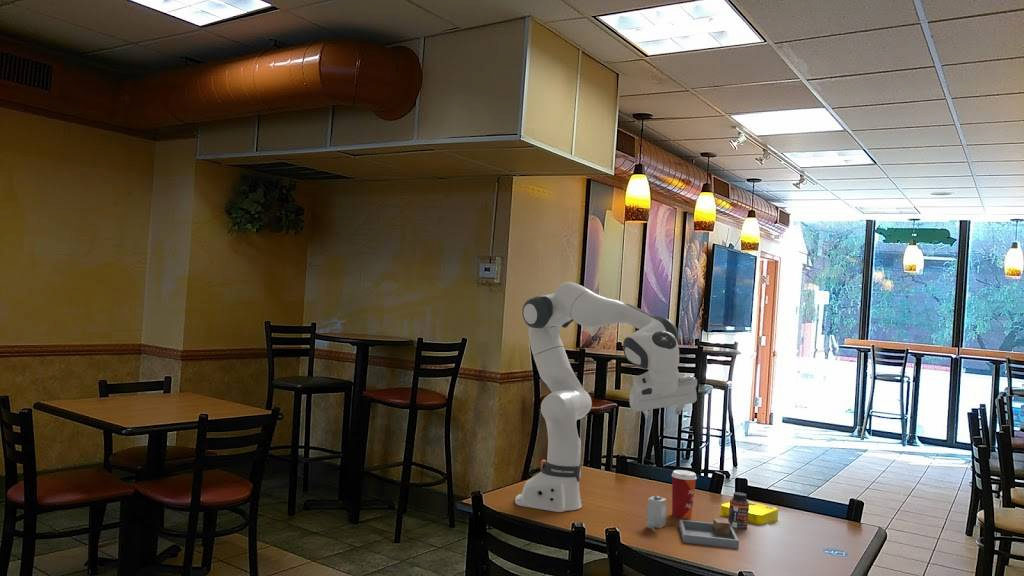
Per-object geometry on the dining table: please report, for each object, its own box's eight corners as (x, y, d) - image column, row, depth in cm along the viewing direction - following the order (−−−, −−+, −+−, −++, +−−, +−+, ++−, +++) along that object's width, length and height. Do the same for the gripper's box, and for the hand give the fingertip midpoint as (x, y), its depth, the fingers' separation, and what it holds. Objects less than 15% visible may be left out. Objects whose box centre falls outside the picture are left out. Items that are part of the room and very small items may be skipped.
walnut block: (716, 535, 224) (717, 522, 224) (712, 531, 228) (713, 518, 228) (729, 536, 224) (730, 523, 224) (725, 532, 228) (726, 519, 228)
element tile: (717, 517, 249) (718, 503, 249) (738, 510, 260) (738, 496, 260) (760, 529, 239) (761, 514, 239) (779, 521, 250) (780, 506, 250)
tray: (683, 545, 216) (683, 534, 216) (679, 529, 231) (679, 519, 231) (738, 551, 214) (739, 540, 214) (730, 534, 229) (731, 525, 229)
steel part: (659, 530, 228) (661, 499, 229) (646, 527, 231) (648, 496, 231) (665, 527, 232) (667, 496, 232) (651, 524, 235) (653, 494, 235)
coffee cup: (694, 523, 239) (697, 476, 239) (668, 519, 241) (671, 473, 241) (693, 516, 247) (696, 471, 248) (668, 513, 249) (671, 468, 249)
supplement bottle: (737, 532, 232) (739, 496, 232) (723, 527, 237) (726, 491, 237) (751, 531, 234) (753, 495, 235) (737, 525, 240) (739, 490, 240)
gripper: (694, 369, 225) (692, 403, 232) (627, 378, 224) (628, 413, 231) (700, 382, 219) (699, 417, 227) (632, 392, 219) (633, 427, 226)
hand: (662, 415), depth 229 cm, fingers open, 8 cm apart
